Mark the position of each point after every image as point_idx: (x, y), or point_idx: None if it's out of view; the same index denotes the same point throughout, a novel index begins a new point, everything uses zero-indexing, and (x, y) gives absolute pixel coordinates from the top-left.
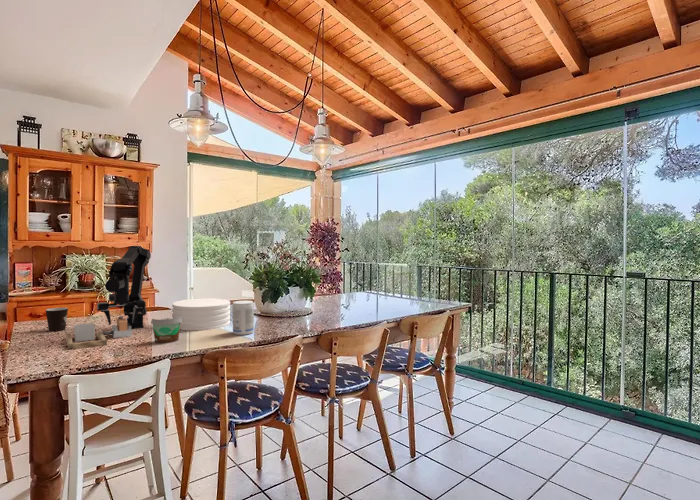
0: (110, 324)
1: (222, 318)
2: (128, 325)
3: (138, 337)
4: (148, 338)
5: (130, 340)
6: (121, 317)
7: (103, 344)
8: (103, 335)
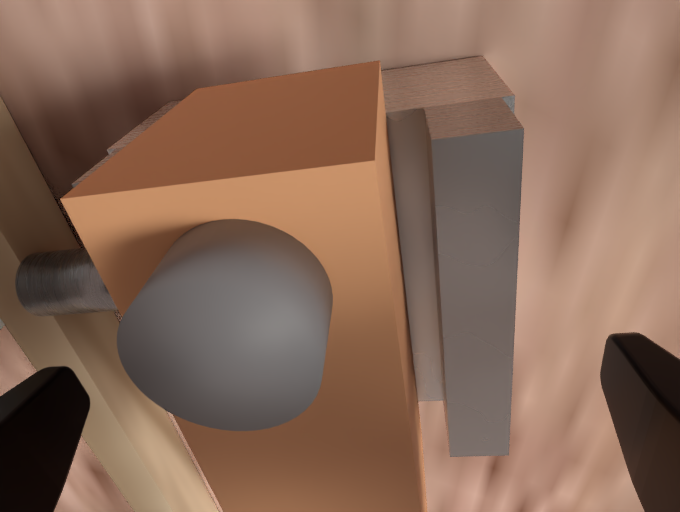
0: (81, 422)
1: None
2: (465, 394)
3: (543, 413)
4: (628, 488)
5: (433, 485)
6: (270, 411)
7: None
8: (115, 426)
